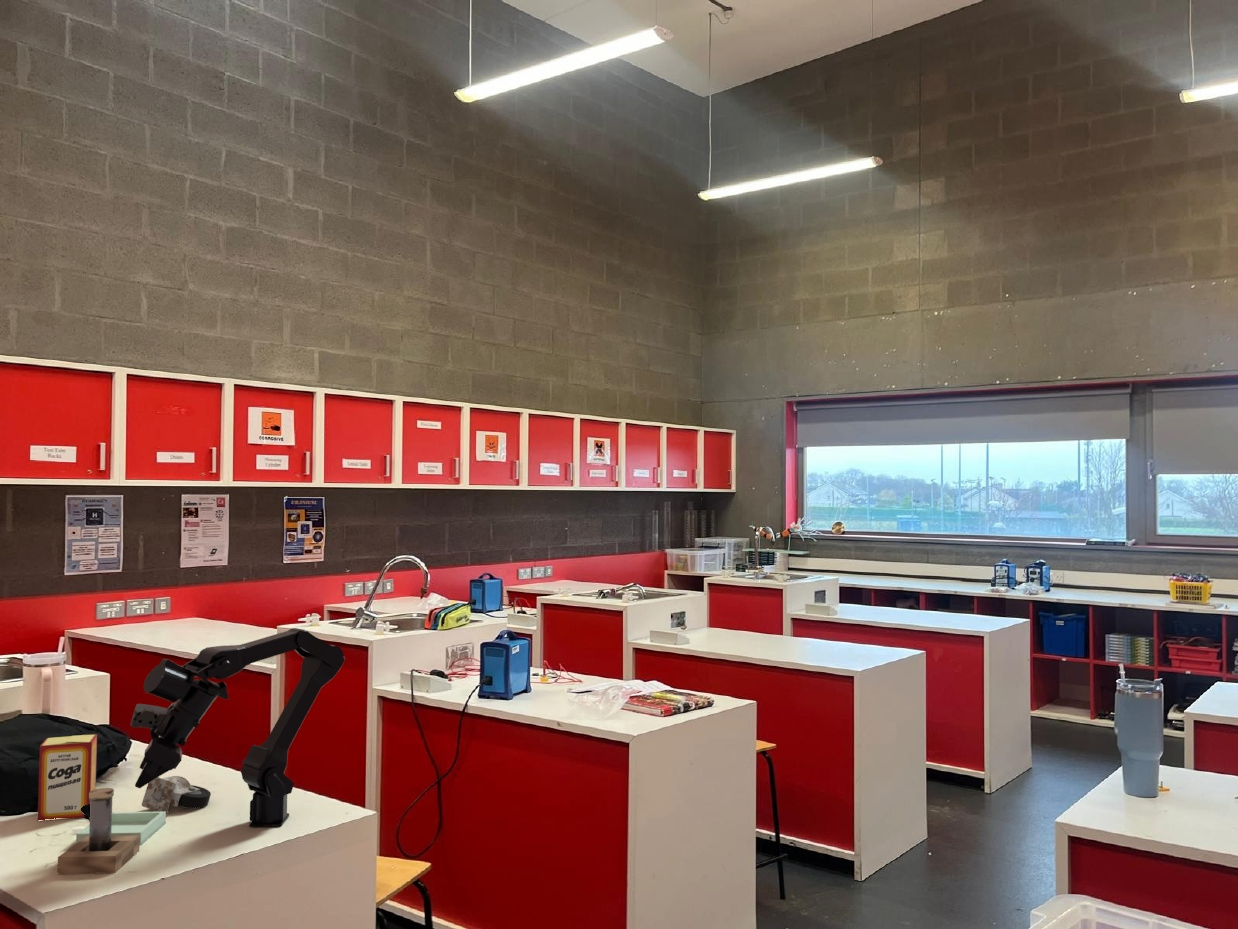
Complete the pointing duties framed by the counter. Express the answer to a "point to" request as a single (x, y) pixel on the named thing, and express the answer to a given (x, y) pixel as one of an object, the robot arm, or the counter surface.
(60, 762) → the baking soda box
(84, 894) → the counter surface
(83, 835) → the tray
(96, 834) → the pin
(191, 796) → the caster wheel
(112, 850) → the block
